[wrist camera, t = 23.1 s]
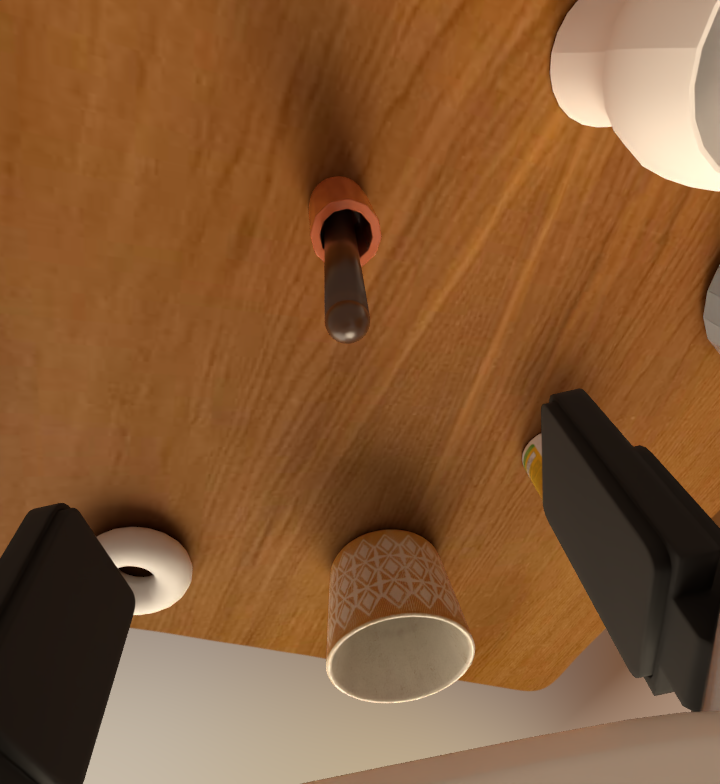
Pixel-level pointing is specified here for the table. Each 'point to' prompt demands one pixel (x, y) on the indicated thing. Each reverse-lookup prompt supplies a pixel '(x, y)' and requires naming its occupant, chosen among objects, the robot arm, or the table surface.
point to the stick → (344, 280)
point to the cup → (646, 80)
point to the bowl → (713, 311)
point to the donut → (150, 565)
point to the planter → (394, 620)
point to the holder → (339, 197)
